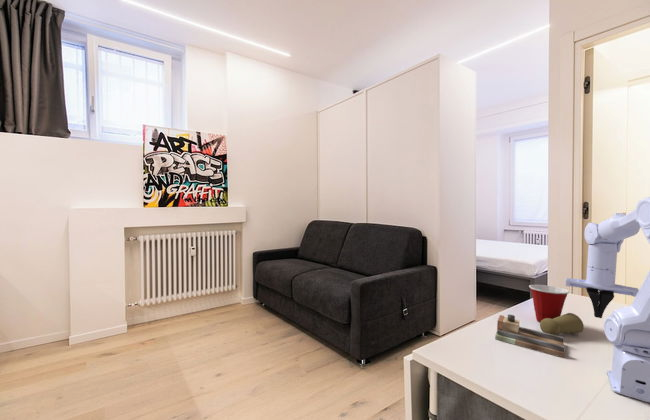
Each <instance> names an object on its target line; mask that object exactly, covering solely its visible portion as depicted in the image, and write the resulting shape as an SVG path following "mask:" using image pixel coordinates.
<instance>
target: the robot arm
mask: <svg viewBox="0 0 650 420" xmlns="http://www.w3.org/2000/svg"><path fill="white" fill-rule="evenodd" d="M612 215H613V216H611V217H609V218H607V219H604V220H603V221H602V222H599V223H596V222H589V223H587V225H586V226H585V228H584V236H583V237H584V240H585V242H586V244H588V246H587V248H588V249H587V264H586V278H585V279H579V278H568V277H565V282H564V284H565V286H566V287H573V288H581V289H585V290H586V292H587V295H588V297H589V299H590V301H591V304H592V308H593V316H594V317H595V318H598V319H603V315H604V312H605V310H606V309H607V307H608V306H609V305H610V304H611V301H612V300H613V299H615V298H614V297H615V294H619V295H626V296H630V297H631V296H632V297H634V299H633V301H632V303H631V305H628V306H625V307H621V308H620V307H619V308H616V309H614V310H613V311H612V314H610V315H608V316H607V317H606V318H605V319H604V322H603V331H604V334H605V337H606V338H607V340H608V341H609V342H610V343H611V344H613V350H612V351H613V352H612V366H611V370H609V369H607V370H606V373H607V377H608V380H609V383H610V386H611V390H612V392H614V393H617V394H619V395H623V396H627V397H629V398H633V399H636V400H640V401H641V402H642V401H643V402H646V403H650V270H648V272H647V275H646V276H645V278H644V280H643V282H642V284H641V286H640V288H638V287H632V286H627V285H621V284H617V283H616V273H617V262H618V261H617V258H618V253H620V251H621V248H622V244H623V242H624V240H625V239H627V238H631V237H634V236H635V235H637V234H638V233H639V232H640V230H641V231H642V233H643V234H644V236H645V238H646V240H647V242H648V244H650V196H648V197H644V198H643V199H641V200H638V201H637V203H636V207H635V209H634V210H631V211H630V212H629V213H627V214H625V213H623V212H621V213H620V212H615V213H614V214H612Z"/></svg>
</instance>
